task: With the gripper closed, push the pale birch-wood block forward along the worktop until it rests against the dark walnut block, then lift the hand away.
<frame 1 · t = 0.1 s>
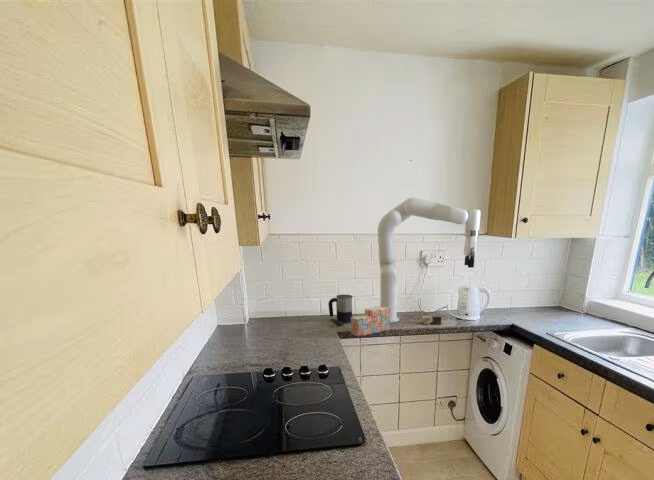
hand: (469, 266, 229), 31 cm above the table, tool pointing down, fingers open, 9 cm apart
walnut block: (436, 323, 235), on the table
milk frother: (341, 323, 235), on the table
stack of blocks: (370, 332, 218), on the table
birch block: (426, 323, 234), on the table
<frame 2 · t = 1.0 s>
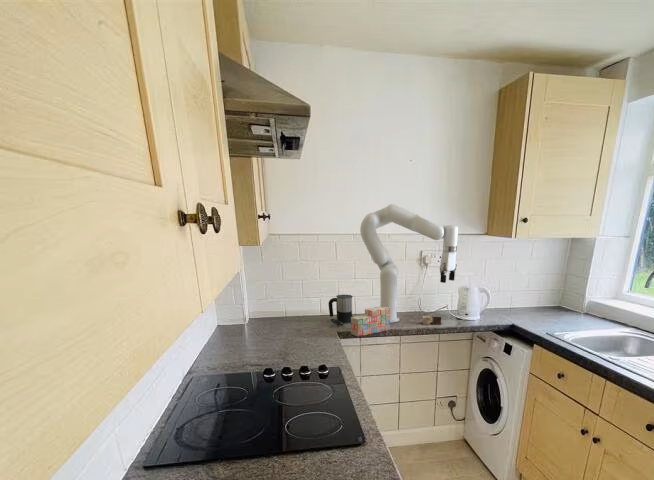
hand: (447, 281, 229), 23 cm above the table, tool pointing down, fingers open, 9 cm apart
nothing on the table moved.
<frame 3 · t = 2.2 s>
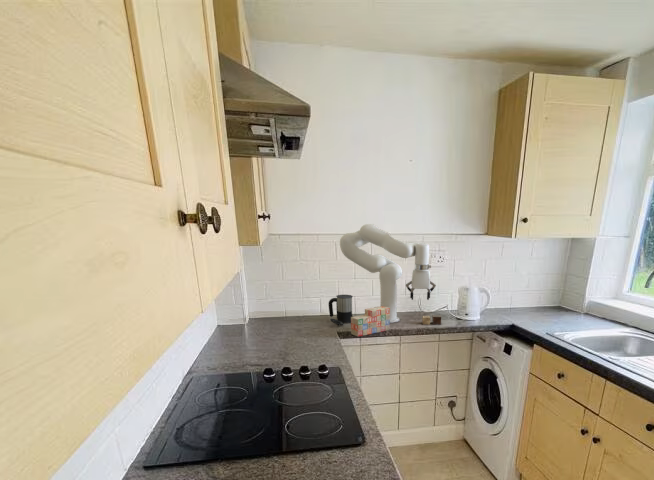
hand: (420, 299, 229), 14 cm above the table, tool pointing down, fingers open, 8 cm apart
nothing on the table moved.
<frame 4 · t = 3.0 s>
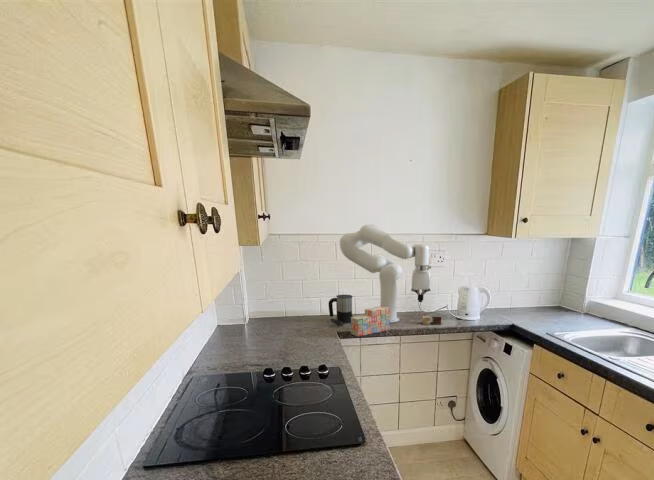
hand: (420, 301, 229), 13 cm above the table, tool pointing down, fingers closed
nothing on the table moved.
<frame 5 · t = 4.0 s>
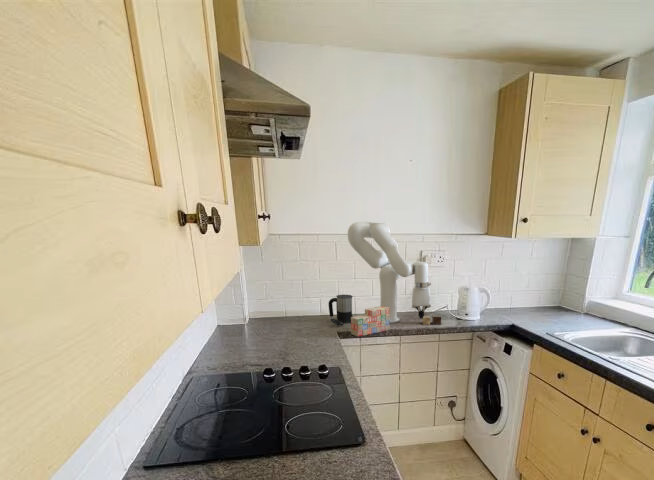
hand: (421, 317, 233), 3 cm above the table, tool pointing down, fingers closed
birch block: (426, 323, 235), on the table, touching gripper
everything else where it was.
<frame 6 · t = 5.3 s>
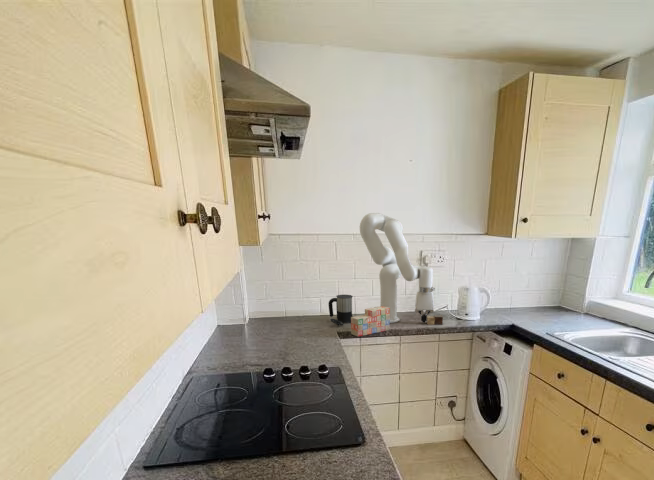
hand: (423, 322, 234), 1 cm above the table, tool pointing down, fingers closed
walnut block: (437, 323, 235), on the table, touching birch block
birch block: (430, 323, 235), on the table, touching gripper, walnut block
everything else where it was.
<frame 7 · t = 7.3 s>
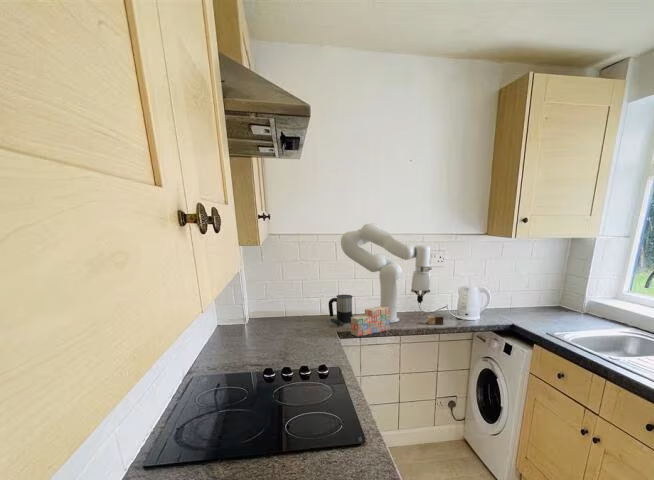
hand: (419, 302, 230), 12 cm above the table, tool pointing down, fingers closed
walnut block: (438, 323, 235), on the table
birch block: (431, 323, 235), on the table
everything else where it was.
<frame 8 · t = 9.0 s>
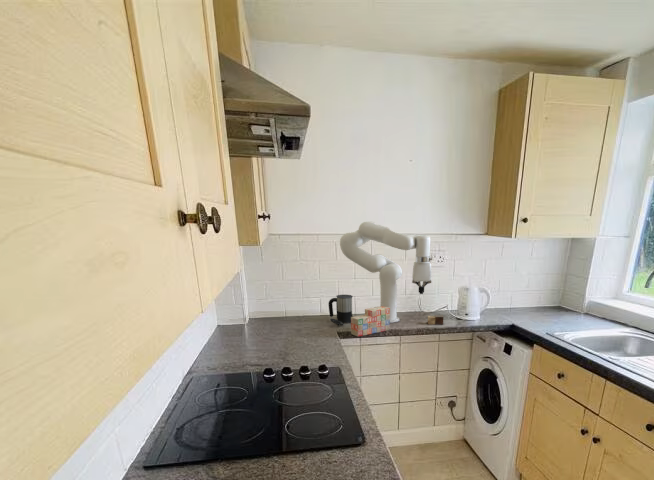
hand: (421, 293, 228), 17 cm above the table, tool pointing down, fingers closed
nothing on the table moved.
at the end: birch block 4.3 cm from the walnut block (horizontally); birch block tilted 0°; walnut block moved 1.3 cm from its start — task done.
